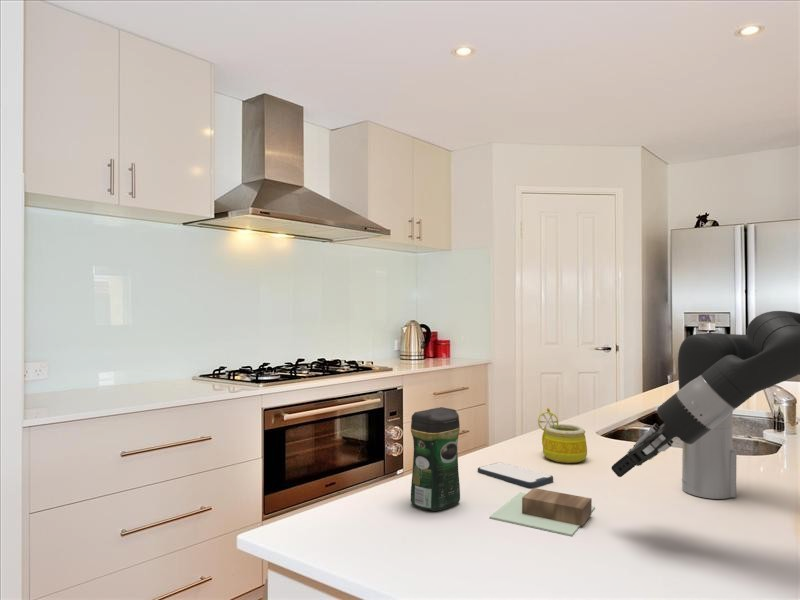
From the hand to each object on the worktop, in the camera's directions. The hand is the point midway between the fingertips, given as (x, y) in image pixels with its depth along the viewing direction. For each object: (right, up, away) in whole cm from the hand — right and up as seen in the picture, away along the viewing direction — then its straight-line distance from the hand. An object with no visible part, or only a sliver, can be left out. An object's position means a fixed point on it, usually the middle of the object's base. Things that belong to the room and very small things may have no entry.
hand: (615, 471), depth 101 cm
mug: (+4, -11, +47) cm, 48 cm away
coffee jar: (-31, -10, +12) cm, 35 cm away
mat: (-11, -10, +8) cm, 17 cm away
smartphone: (-12, -11, +31) cm, 34 cm away
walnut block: (-4, -8, +4) cm, 10 cm away
